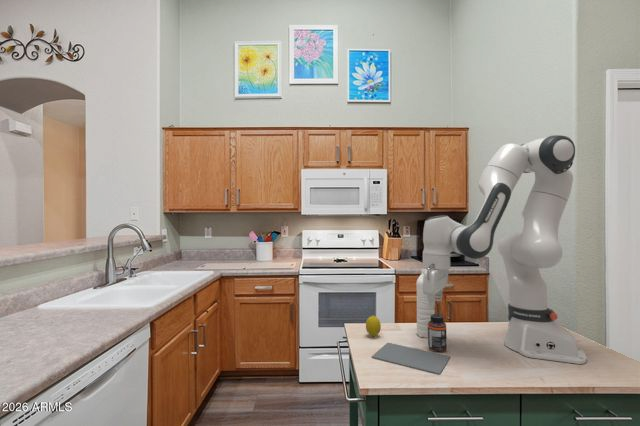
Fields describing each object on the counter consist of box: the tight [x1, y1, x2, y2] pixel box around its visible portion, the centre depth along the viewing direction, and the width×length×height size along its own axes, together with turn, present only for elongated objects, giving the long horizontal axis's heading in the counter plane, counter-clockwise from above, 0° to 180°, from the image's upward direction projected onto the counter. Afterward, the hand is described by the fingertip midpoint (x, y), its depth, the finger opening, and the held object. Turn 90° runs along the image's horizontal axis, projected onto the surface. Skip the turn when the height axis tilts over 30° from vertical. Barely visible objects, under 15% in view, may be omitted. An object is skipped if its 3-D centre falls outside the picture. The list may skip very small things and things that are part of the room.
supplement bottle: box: [427, 313, 448, 353], centre depth 110 cm, size 6×6×11 cm
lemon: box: [365, 314, 382, 338], centre depth 121 cm, size 6×6×8 cm
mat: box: [371, 342, 451, 376], centre depth 103 cm, size 21×14×1 cm, turn 57°
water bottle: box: [416, 268, 435, 339], centre depth 123 cm, size 9×6×25 cm
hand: (435, 303), depth 110 cm, fingers open, 8 cm apart
